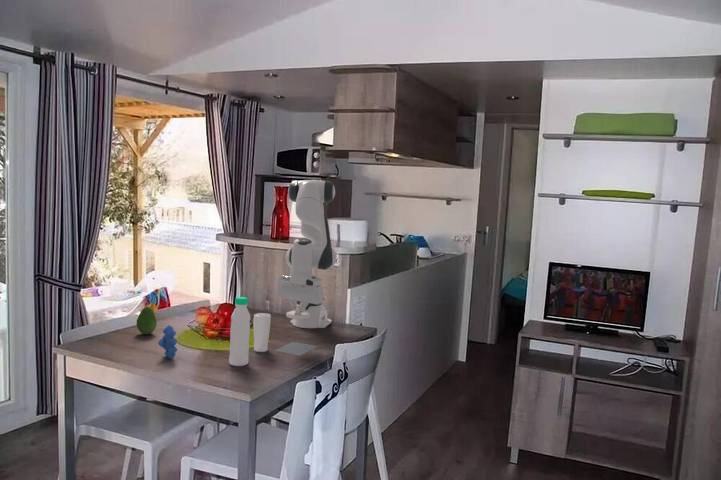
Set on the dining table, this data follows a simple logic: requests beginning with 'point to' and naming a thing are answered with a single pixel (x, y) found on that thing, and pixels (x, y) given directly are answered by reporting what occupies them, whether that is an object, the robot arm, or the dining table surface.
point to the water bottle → (240, 333)
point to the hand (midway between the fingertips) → (298, 311)
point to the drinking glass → (261, 331)
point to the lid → (297, 313)
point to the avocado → (146, 321)
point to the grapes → (169, 342)
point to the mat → (296, 348)
